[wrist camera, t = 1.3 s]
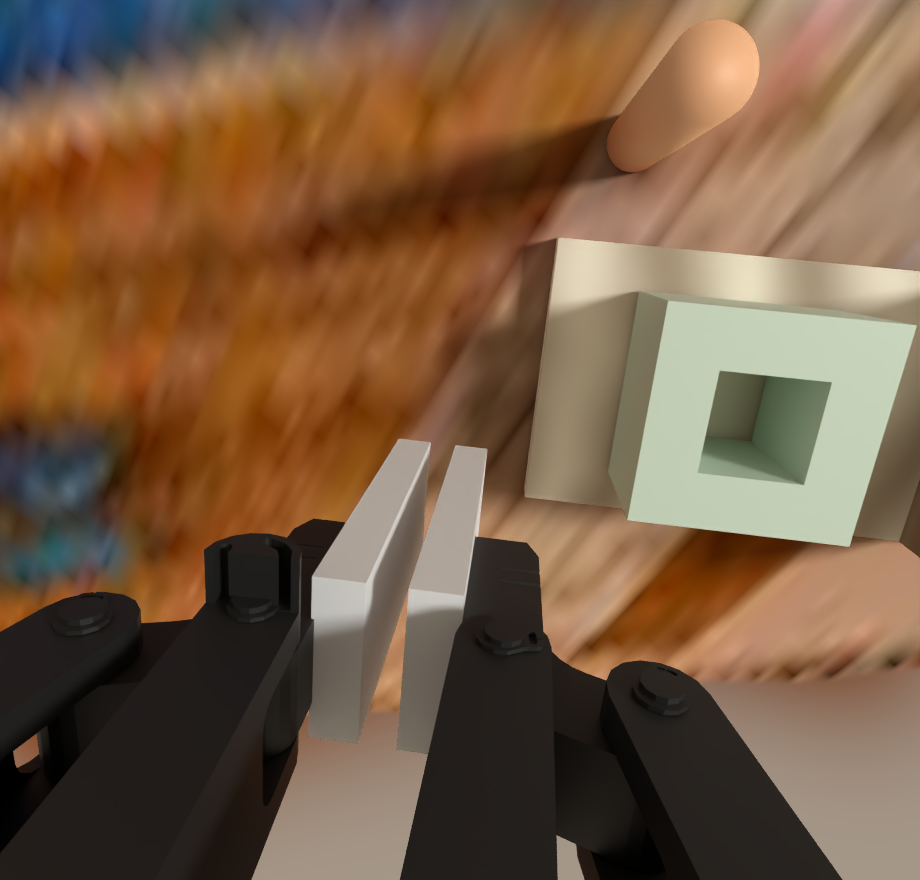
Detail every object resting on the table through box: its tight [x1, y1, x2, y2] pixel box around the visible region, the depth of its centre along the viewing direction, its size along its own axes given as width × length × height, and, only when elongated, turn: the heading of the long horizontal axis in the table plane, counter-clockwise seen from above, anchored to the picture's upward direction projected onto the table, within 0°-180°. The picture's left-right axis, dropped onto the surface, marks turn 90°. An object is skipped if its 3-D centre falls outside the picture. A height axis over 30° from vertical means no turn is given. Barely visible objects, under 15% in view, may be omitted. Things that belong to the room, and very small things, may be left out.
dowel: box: [607, 20, 759, 173], centre depth 23 cm, size 3×3×12 cm
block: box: [608, 291, 917, 547], centre depth 27 cm, size 9×9×6 cm
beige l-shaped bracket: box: [524, 238, 920, 557], centre depth 27 cm, size 22×13×10 cm, turn 84°
